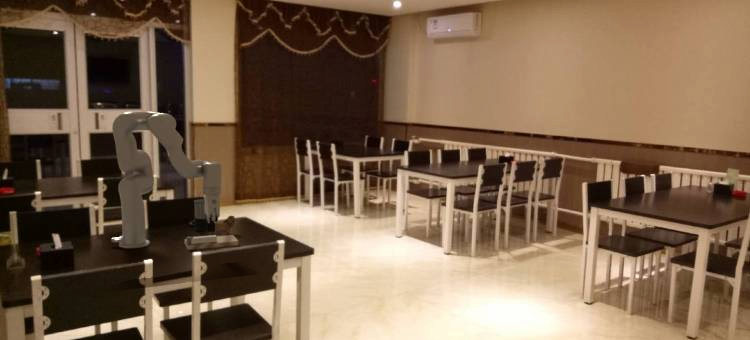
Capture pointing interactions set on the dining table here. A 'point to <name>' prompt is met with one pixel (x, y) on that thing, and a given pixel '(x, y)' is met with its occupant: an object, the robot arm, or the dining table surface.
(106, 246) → the dining table surface
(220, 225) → the lion figurine
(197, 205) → the milk frother
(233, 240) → the grey tray
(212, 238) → the grey lumpy rod
